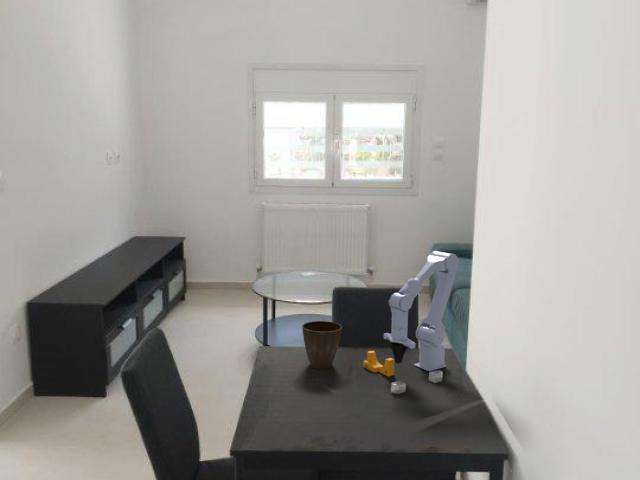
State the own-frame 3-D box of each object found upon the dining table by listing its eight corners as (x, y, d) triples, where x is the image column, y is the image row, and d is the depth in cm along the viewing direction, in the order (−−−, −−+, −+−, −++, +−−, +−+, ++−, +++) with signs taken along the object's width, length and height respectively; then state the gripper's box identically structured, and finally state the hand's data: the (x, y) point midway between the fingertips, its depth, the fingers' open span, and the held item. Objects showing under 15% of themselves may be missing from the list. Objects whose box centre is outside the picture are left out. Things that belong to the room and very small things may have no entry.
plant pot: (304, 359, 235) (305, 319, 232) (342, 361, 233) (343, 321, 230) (298, 372, 220) (299, 330, 218) (338, 375, 218) (339, 332, 216)
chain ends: (437, 377, 217) (438, 369, 217) (443, 380, 215) (444, 372, 214) (389, 391, 203) (389, 383, 203) (395, 394, 201) (395, 386, 200)
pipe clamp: (363, 369, 225) (363, 352, 224) (371, 366, 228) (371, 350, 227) (385, 378, 216) (385, 361, 215) (393, 376, 218) (394, 359, 218)
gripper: (377, 323, 218) (376, 359, 220) (405, 333, 206) (404, 370, 208) (392, 320, 222) (390, 355, 224) (420, 329, 210) (418, 366, 212)
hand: (398, 362), depth 216 cm, fingers closed
